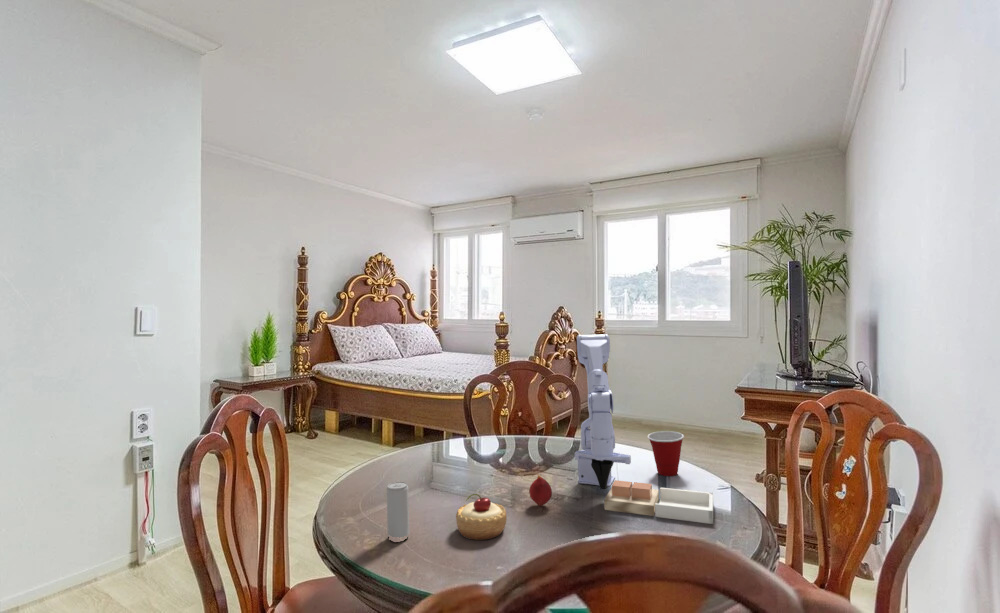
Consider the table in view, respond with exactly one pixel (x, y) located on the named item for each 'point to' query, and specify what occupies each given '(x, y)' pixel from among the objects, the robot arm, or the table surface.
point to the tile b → (642, 490)
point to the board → (632, 503)
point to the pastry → (481, 519)
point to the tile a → (622, 488)
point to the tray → (685, 505)
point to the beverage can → (397, 509)
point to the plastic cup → (666, 451)
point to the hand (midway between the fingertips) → (603, 488)
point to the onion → (540, 491)
